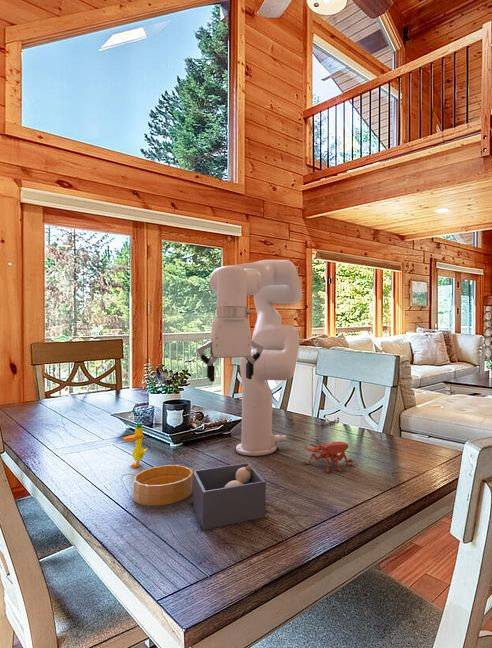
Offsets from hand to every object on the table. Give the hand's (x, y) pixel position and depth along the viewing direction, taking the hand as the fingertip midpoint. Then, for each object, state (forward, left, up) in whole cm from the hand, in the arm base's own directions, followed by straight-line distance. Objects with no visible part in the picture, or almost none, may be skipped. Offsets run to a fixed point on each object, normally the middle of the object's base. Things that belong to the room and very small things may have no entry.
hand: (230, 379), depth 116 cm
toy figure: (+21, -22, -26) cm, 40 cm away
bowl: (+16, +2, -26) cm, 31 cm away
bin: (+4, +16, -26) cm, 31 cm away
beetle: (-29, -2, -26) cm, 39 cm away
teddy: (+4, +16, -25) cm, 30 cm away
